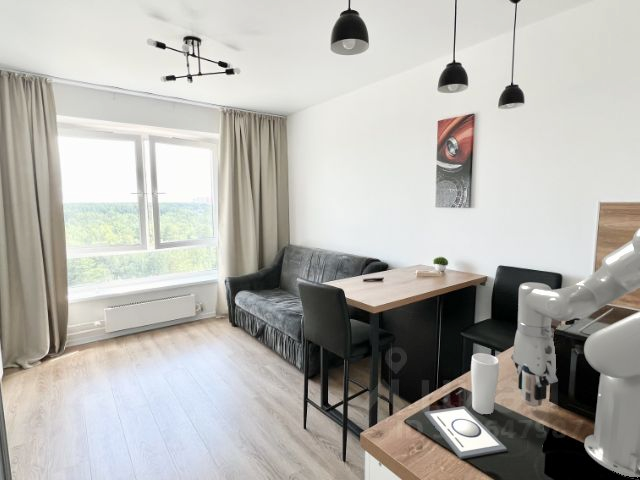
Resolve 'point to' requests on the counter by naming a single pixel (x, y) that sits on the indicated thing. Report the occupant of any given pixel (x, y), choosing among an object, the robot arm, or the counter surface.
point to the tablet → (464, 432)
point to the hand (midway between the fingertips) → (531, 392)
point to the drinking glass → (484, 382)
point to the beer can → (529, 387)
